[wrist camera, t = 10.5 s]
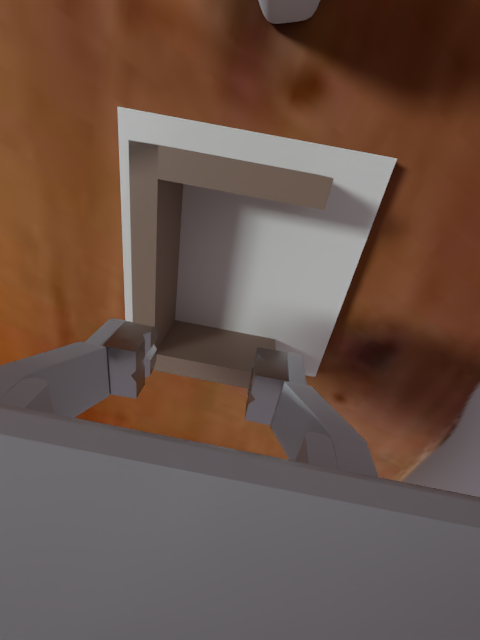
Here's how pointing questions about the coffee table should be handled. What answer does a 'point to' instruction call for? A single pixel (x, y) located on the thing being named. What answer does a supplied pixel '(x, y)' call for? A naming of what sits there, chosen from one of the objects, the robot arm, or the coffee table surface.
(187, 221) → the u rest
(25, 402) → the robot arm
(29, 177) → the coffee table surface
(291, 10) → the eye dropper bottle
